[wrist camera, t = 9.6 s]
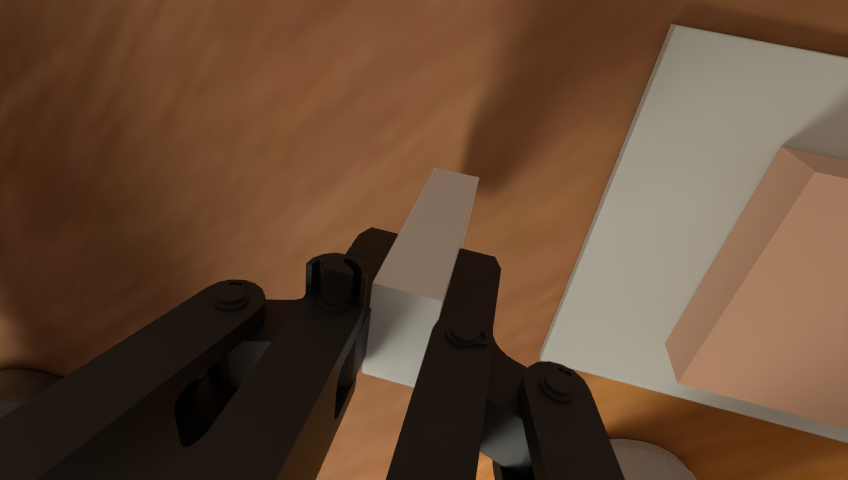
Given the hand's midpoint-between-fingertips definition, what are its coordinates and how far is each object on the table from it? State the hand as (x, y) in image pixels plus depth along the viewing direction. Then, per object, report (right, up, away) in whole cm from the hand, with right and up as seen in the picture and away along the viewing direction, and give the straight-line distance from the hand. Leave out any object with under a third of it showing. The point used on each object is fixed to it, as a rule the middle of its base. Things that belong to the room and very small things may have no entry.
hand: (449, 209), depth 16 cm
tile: (+9, -2, -1) cm, 9 cm away
